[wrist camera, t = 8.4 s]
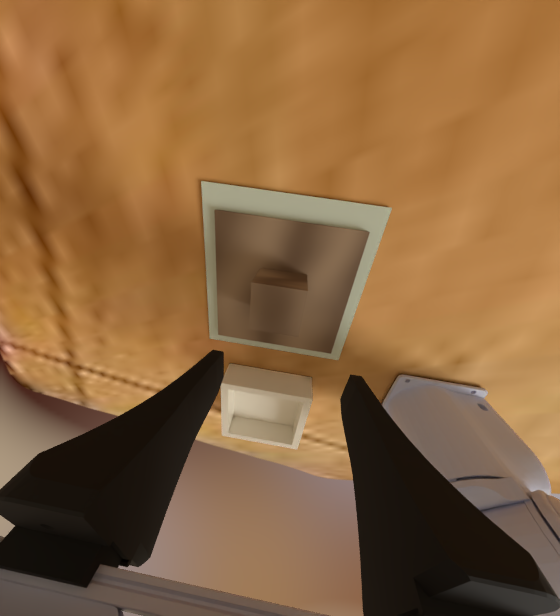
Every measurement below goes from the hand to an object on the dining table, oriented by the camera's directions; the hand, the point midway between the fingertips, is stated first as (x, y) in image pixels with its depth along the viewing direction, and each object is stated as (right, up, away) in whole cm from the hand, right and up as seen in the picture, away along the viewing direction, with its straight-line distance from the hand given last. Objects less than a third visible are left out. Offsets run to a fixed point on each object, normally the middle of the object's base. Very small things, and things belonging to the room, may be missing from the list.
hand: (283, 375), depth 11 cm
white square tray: (-2, -8, +15) cm, 17 cm away
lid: (0, +6, +7) cm, 9 cm away
